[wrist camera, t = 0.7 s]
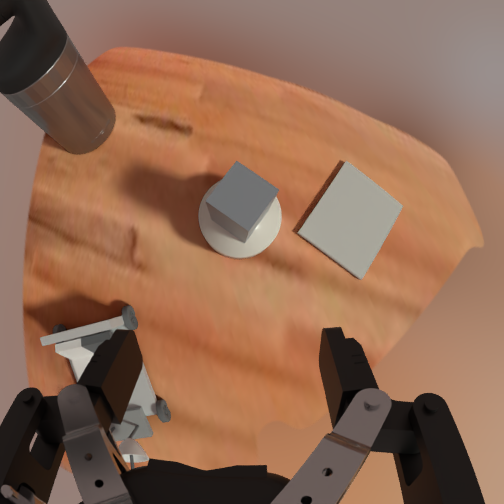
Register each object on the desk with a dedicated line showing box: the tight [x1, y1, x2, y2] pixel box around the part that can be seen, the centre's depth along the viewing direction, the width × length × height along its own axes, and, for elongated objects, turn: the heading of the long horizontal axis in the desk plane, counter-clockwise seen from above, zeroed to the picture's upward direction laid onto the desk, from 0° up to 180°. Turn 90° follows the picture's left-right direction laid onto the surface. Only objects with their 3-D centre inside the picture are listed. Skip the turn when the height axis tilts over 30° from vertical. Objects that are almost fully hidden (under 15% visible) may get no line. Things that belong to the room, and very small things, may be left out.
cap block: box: [206, 161, 279, 243], centre depth 30 cm, size 4×4×8 cm
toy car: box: [40, 305, 171, 469], centre depth 30 cm, size 18×10×12 cm
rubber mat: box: [297, 161, 403, 280], centre depth 38 cm, size 10×12×1 cm
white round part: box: [198, 180, 281, 259], centre depth 36 cm, size 9×9×4 cm
